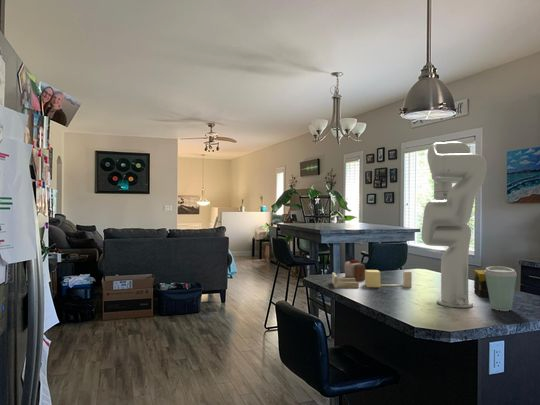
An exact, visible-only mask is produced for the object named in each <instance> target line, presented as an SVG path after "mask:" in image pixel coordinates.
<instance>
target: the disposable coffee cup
mask: <svg viewBox="0 0 540 405" xmlns="http://www.w3.org/2000/svg"><path fill="white" fill-rule="evenodd" d="M484 270H485V272H484V274H485V276H486V282H487V287H488V293H489V302H490V303H489V304H490V307H491V309H493V310H494V309H495V310H496V311H499V310H500V311H501V312H509V310H510V311H512V308H513V302H514V296H515V288H516V283H517V282H516V281H517V276H518V275H517V272H516V271H515V270H516V269H513V268H511V267H507V266H495V265H493V266H492V265H491V266H486V267H485V269H484ZM500 311H499V312H500Z"/></svg>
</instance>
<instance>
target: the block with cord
mask: <svg viewBox="0 0 540 405" xmlns="http://www.w3.org/2000/svg"><path fill="white" fill-rule="evenodd" d="M412 274H413V273H412V271H410V270H403V271H402V284H394V283H393V284H392V283H391V284H387V283H385V284H384V283H381V272H380V270H378V269H365V280H364V285H365V287H367V288H381V287H383V286H385V287H404V288H412V282H413V281H412Z"/></svg>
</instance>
